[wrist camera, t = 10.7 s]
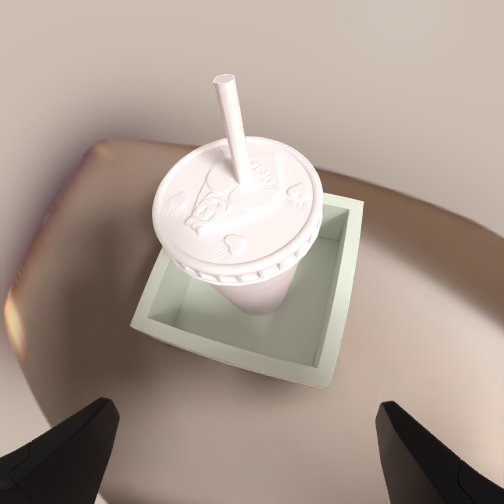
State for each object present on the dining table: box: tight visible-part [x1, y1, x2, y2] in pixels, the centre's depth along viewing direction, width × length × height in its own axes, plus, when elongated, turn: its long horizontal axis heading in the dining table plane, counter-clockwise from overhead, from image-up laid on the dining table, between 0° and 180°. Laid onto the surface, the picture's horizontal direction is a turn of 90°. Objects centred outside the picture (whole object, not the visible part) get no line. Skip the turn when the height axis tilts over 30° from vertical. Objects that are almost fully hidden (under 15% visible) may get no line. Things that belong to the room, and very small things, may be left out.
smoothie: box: [152, 74, 323, 315], centre depth 13 cm, size 6×6×14 cm
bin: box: [130, 193, 364, 388], centre depth 17 cm, size 11×11×4 cm
